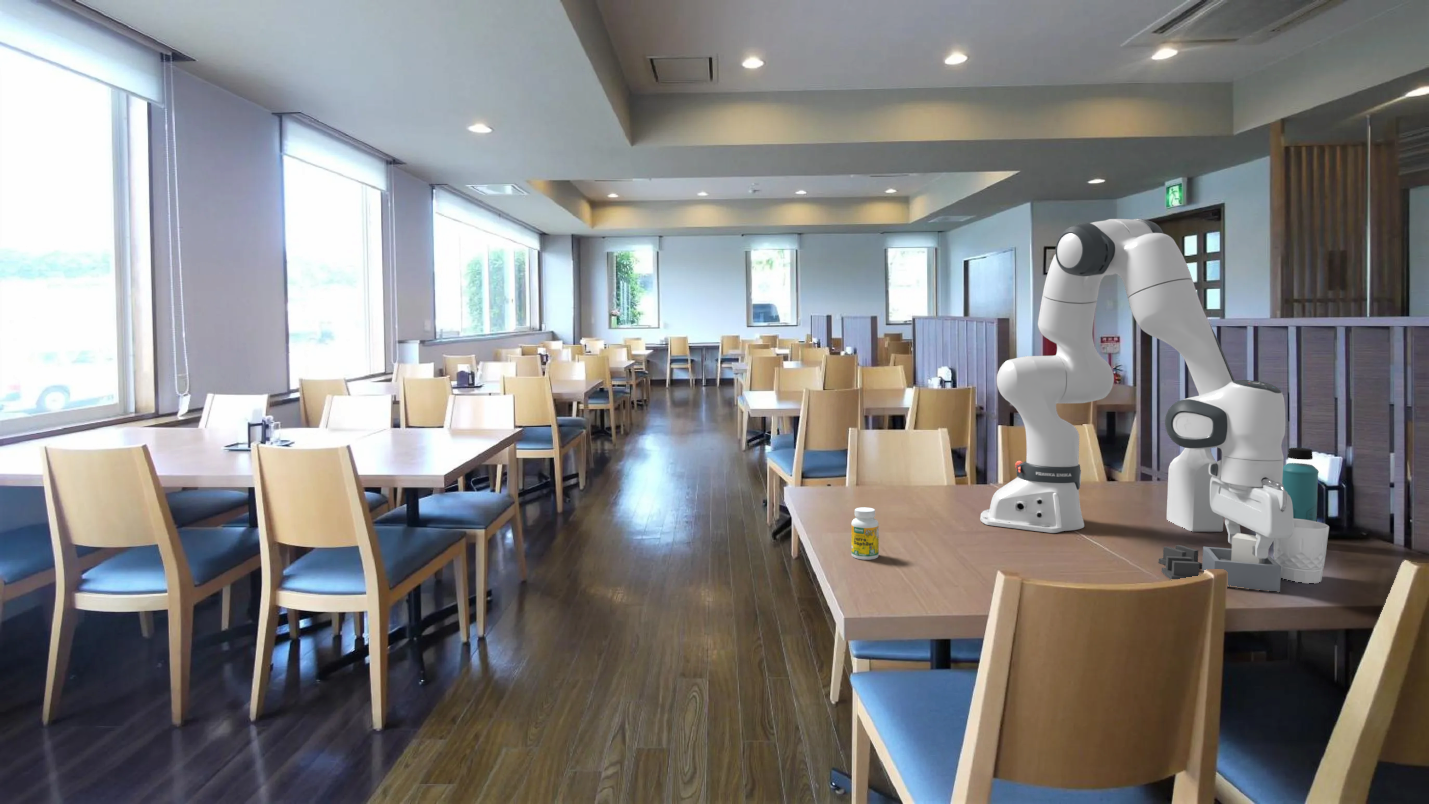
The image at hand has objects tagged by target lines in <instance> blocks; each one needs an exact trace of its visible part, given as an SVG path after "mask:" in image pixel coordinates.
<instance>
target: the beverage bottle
mask: <svg viewBox="0 0 1429 804" xmlns="http://www.w3.org/2000/svg"><path fill="white" fill-rule="evenodd" d="M1287 458H1288V459H1293V460H1301V461H1302V460H1305V461H1306V460H1307V461H1308V460H1313V459H1314V456H1313V449H1310V448H1305V447H1289V448H1288V452H1287ZM1318 483H1319V470H1318V469H1317V467H1315V465H1312V464H1309V463H1303V462H1302V463H1299V462H1289V463H1286V464H1284V465H1283V478H1282V484H1283V486H1284V489H1285V491H1287V493H1288V495H1289V496H1290V497H1291V500H1292V506H1293V519H1304V520H1310V521H1316V522H1318V515H1317V514H1318V509H1319V506H1318V505H1319V503H1318V487H1319V486H1318ZM1281 490H1282V489H1281Z"/></svg>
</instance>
